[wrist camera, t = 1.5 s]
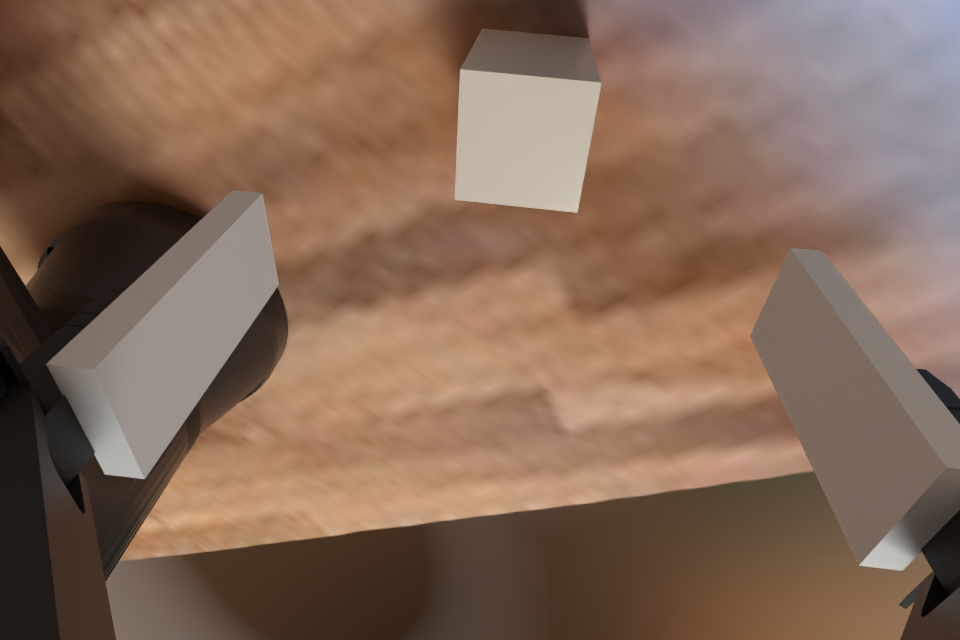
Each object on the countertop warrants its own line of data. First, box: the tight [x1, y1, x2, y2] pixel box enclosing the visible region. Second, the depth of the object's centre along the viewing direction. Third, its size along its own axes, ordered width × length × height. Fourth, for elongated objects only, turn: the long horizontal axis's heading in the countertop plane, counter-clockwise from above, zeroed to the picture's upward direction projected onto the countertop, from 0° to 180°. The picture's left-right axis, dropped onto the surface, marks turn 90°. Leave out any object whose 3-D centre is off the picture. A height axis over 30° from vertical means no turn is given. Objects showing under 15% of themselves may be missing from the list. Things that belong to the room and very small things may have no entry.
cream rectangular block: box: [455, 28, 602, 213], centre depth 24 cm, size 5×5×8 cm
